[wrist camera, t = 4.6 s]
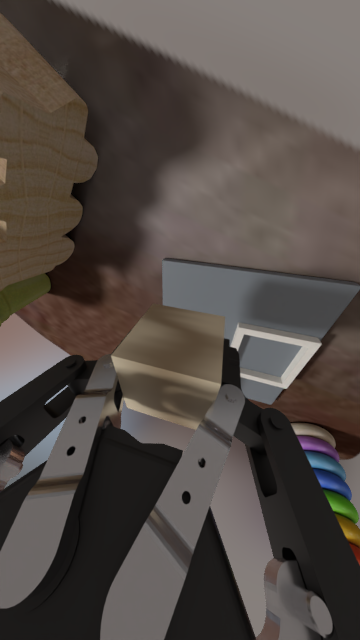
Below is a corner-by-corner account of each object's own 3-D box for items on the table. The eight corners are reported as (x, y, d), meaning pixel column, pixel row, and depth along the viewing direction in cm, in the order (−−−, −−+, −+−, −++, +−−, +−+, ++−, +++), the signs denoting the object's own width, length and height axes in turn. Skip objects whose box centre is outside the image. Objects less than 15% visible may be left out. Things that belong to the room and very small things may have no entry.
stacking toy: (335, 444, 28) (452, 715, 13) (284, 441, 32) (327, 644, 17) (327, 420, 25) (463, 729, 10) (271, 420, 29) (310, 641, 14)
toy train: (110, 120, 13) (-92, -26, 5) (68, 270, 23) (-22, 302, 15) (49, 53, 12) (-339, -274, 4) (32, 241, 22) (-85, 259, 14)
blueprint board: (165, 370, 29) (162, 379, 28) (165, 258, 18) (158, 262, 16) (270, 398, 26) (272, 411, 24) (355, 282, 14) (370, 291, 13)
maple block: (156, 352, 14) (126, 407, 10) (153, 303, 11) (110, 355, 7) (212, 365, 13) (203, 432, 9) (225, 316, 10) (221, 384, 6)
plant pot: (-1, 227, 22) (-110, 235, 15) (60, 263, 22) (-17, 287, 15) (13, 282, 27) (-61, 306, 21) (61, 310, 28) (5, 342, 21)
